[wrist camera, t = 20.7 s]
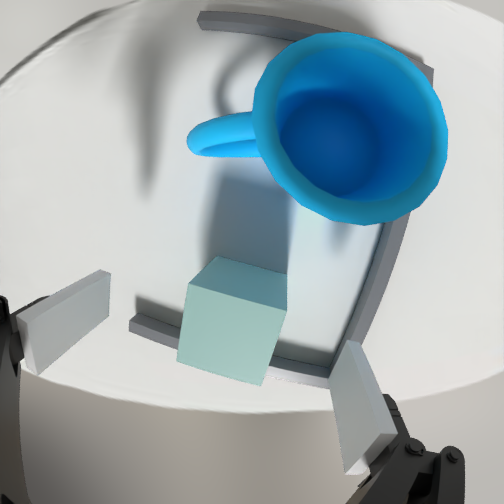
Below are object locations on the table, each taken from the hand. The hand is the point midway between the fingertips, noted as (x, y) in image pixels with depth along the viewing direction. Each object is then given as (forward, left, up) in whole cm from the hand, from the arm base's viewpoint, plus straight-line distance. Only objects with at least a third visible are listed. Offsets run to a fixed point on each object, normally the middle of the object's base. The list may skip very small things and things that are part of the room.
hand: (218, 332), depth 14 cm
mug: (+2, +11, -6) cm, 12 cm away
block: (0, 0, -6) cm, 6 cm away
